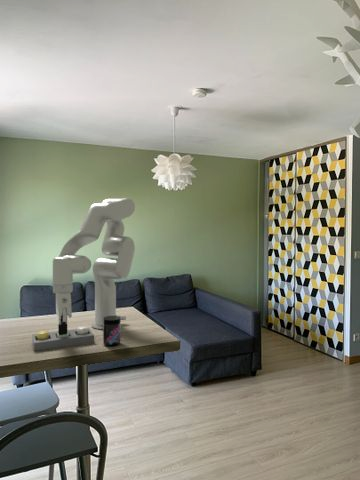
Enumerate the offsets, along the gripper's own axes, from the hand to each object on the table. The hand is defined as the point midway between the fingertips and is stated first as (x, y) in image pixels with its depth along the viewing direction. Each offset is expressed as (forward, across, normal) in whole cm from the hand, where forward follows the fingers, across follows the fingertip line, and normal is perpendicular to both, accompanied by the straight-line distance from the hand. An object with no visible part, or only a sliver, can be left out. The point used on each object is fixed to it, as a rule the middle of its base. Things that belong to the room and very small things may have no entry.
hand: (62, 334), depth 138 cm
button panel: (+3, 0, 0) cm, 3 cm away
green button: (+2, 0, 0) cm, 3 cm away
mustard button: (+1, 0, +7) cm, 7 cm away
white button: (+1, 0, -8) cm, 8 cm away
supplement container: (+4, -10, -17) cm, 20 cm away
